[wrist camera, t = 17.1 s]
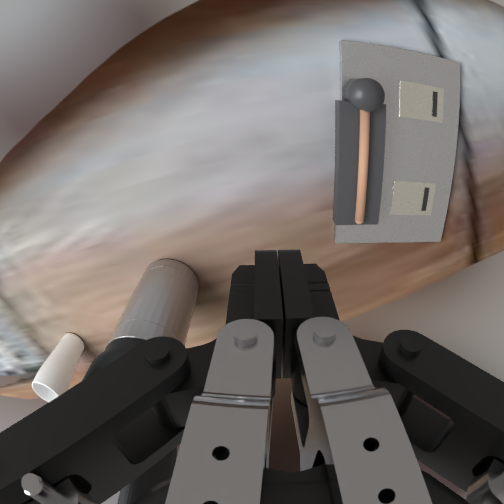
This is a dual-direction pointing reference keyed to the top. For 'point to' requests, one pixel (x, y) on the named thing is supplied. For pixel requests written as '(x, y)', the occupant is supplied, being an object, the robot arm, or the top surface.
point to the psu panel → (408, 140)
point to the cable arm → (359, 153)
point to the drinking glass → (58, 368)
